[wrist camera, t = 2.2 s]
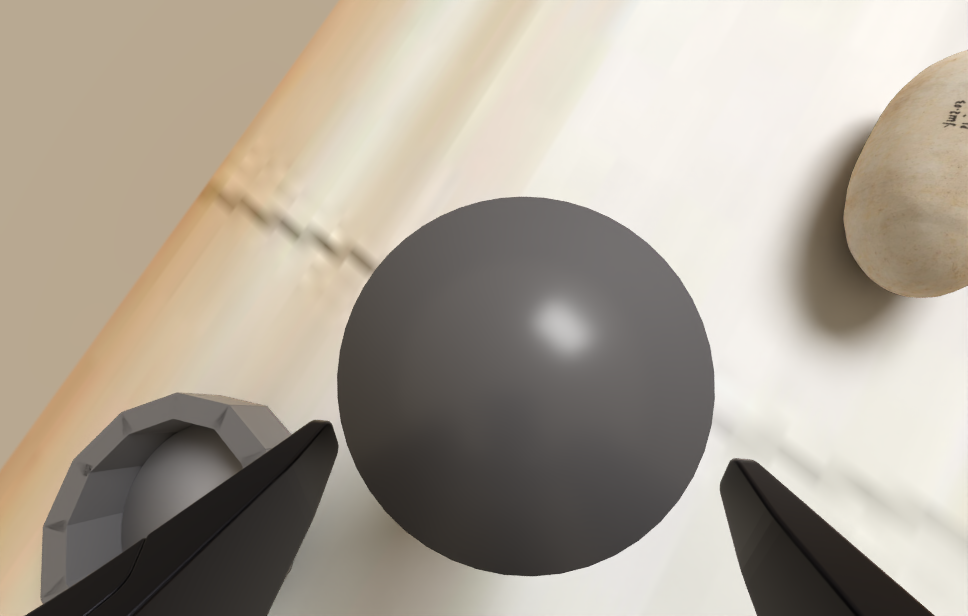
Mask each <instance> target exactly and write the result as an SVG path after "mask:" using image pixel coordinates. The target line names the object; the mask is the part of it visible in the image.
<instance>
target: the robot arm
mask: <svg viewBox="0 0 968 616" xmlns="http://www.w3.org/2000/svg"><path fill="white" fill-rule="evenodd" d="M337 453H338V441H337V438H336V435H335V432H334V429H333V426H332V423H331V422H329V421H324V420H313V421H311V422H309V423H308V424H306V425H305V426H303V427H302V428H300V429H299V430H298V431H296V432H295V433H293V434H292V435H290V436H289V437H288V438H286V439H285V440H283V441H282V442H280V443H279V444H277V445H276V446H275V447H273V448H272V449H270V450H269V451H267V452H266V453H265V454H263V455H262V456H260V457H259V458H257V459H256V460H254V461H253V462H252V463H250V464H249V465H247V466H246V467H244V468H243V469H242V470H240V471H239V472H237V473H236V474H234V475H233V476H231V477H230V478H229V479H227V480H226V481H224V482H223V483H221V484H220V485H219V486H217V487H216V488H214V489H213V490H211V491H210V492H208V493H207V494H206V495H204V496H203V497H201V498H200V499H198V500H197V501H196V502H194V503H193V504H191V505H190V506H188V507H187V508H186V509H184V510H183V511H181V512H180V513H178V514H177V515H175V516H174V517H173V518H171V519H170V520H168V521H167V522H165V523H164V524H163V525H161V526H160V527H158V528H157V529H155V530H154V531H152V532H151V533H150V534H148V535H147V537H146V538H142V539H141V540H139V541H138V542H136V543H135V544H134V545H132V546H131V547H129V548H128V549H126V550H125V551H124V552H122V553H121V554H119V555H118V556H116V557H115V558H113V559H112V560H110V561H109V562H107V563H106V564H104V565H103V566H101V567H100V568H98V569H97V570H95V571H94V572H93V573H91V574H90V575H88V576H87V577H85V578H84V579H82V580H80V581H79V582H77V583H76V584H74V585H73V586H71V587H69V588H68V589H66V590H65V591H63V592H62V593H60V594H59V595H57V596H55V597H54V598H52V599H51V600H49V601H48V602H46V603H44V604H43V605H41V606H40V607H38V608H36V609H35V610H33V611H32V612H30V613H28V614H27V615H25V616H267V614H268V612H269V610H270V608H271V606H272V604H273V602H274V600H275V598H276V596H277V593H278V591H279V589H280V587H281V585H282V583H283V581H284V579H285V577H286V575H287V573H288V571H289V568H290V566H291V564H292V562H293V560H294V558H295V556H296V554H297V552H298V550H299V548H300V546H301V543H302V541H303V539H304V537H305V535H306V533H307V531H308V529H309V527H310V525H311V522H312V520H313V518H314V516H315V513H316V511H317V508H318V505H319V503H320V500H321V497H322V495H323V492H324V489H325V486H326V484H327V481H328V478H329V475H330V473H331V470H332V467H333V464H334V462H335V459H336V456H337ZM720 494H721V498H722V501H723V505H724V509H725V513H726V517H727V521H728V524H729V528H730V532H731V536H732V540H733V544H734V547H735V551H736V555H737V559H738V562H739V566H740V569H741V572H742V575H743V578H744V581H745V584H746V587H747V589H748V592H749V595H750V598H751V600H752V603H753V606H754V608H755V611H756V614H757V616H935V615H933V614H932V613H931V612H930V611H929V610H928V609H926V608H925V607H924V606H923V605H922V604H921V603H920V602H918V601H917V600H916V599H915V598H914V597H913V596H911V595H910V594H909V593H908V592H907V591H906V590H905V589H903V588H902V587H901V586H900V585H899V584H898V583H896V582H895V581H894V580H893V579H892V578H891V577H889V576H888V575H887V574H886V573H885V572H884V571H883V570H881V569H880V568H879V567H878V566H877V565H876V564H874V563H873V562H872V561H871V560H870V559H869V558H868V557H866V556H865V555H864V554H863V553H862V552H861V551H859V550H858V549H857V548H856V547H855V546H854V545H852V544H851V543H850V542H849V541H848V540H847V539H846V538H844V537H843V536H842V535H841V534H840V533H839V532H837V531H836V530H835V529H834V528H833V527H832V526H831V525H829V524H828V523H827V522H826V521H825V520H824V519H822V518H821V517H820V516H819V515H818V514H817V513H815V512H814V511H813V510H812V509H811V508H810V507H809V506H807V505H806V504H805V503H804V502H803V501H802V500H800V499H799V498H798V497H797V496H796V495H795V494H794V493H792V492H791V491H790V490H789V489H788V488H787V487H785V486H784V485H783V484H782V483H781V482H780V481H778V480H777V479H776V478H775V477H774V476H773V475H772V474H770V473H769V472H768V471H767V470H766V469H765V468H763V467H762V466H761V465H760V464H759V463H757V462H756V461H754V460H750V459H739V458H734V459H732V460H730V462H729V464H728V466H727V469H726V471H725V473H724V475H723V477H722V480H721V482H720Z"/></svg>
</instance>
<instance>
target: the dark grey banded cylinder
mask: <svg viewBox="0 0 968 616" xmlns="http://www.w3.org/2000/svg"><path fill="white" fill-rule="evenodd" d="M337 385H338V404H339V411H340V419H341V424H342V428H343V431H344V435H345V439H346V442H347V446H348V448H349V451H350V453H351V456H352V458H353V460H354V463H355V465H356V468H357V470H358V471H359V473H360V475H361V477H362V478H363V480H364V482H365V484H366V485H367V487H368V489H369V490H370V492H371V493H372V494H373V496H374V497H375V498H376V500H377V501H378V502H379V504H380V505H381V506H382V507H383V509H384V510H385V511H386V512H387V513H388V514H389V515H390V516H391V517H392V518H393V519H394V520H395V521H396V522H397V523H398V524H399V525H400V526H401V527H402V528H403V529H404V530H405V531H406V532H408V533H409V534H410V535H412V536H413V537H414V538H416V539H417V540H419V541H420V542H421V543H423V544H424V545H425V546H427V547H429V548H430V549H432V550H434V551H436V552H438V553H440V554H441V555H443V556H445V557H447V558H449V559H451V560H453V561H456V562H459V563H462V564H464V565H467V566H470V567H473V568H475V569H479V570H484V571H489V572H493V573H498V574H503V575H518V576H541V575H551V574H561V573H565V572H569V571H573V570H577V569H581V568H585V567H589V566H591V565H593V564H596V563H598V562H600V561H603V560H605V559H607V558H610V557H612V556H614V555H616V554H618V553H619V552H621V551H623V550H624V549H626V548H627V547H629V546H631V545H632V544H634V543H635V542H637V541H639V540H640V539H641V538H642V537H643V536H645V535H646V534H647V533H648V532H649V531H650V530H651V529H653V528H654V527H655V526H656V525H657V524H658V523H660V522H661V521H662V519H663V518H664V517H665V516H666V515H667V514H668V512H669V511H670V510H671V509H672V508H673V507H674V505H675V504H676V503H677V502H678V501H679V499H680V498H681V496H682V494H683V493H684V491H685V489H686V488H687V486H688V485H689V483H690V481H691V480H692V478H693V477H694V474H695V472H696V470H697V467H698V465H699V463H700V460H701V458H702V456H703V453H704V451H705V447H706V443H707V440H708V436H709V432H710V429H711V424H712V416H713V408H714V399H715V394H714V369H713V362H712V356H711V350H710V345H709V342H708V338H707V335H706V332H705V328H704V325H703V322H702V320H701V317H700V315H699V313H698V311H697V308H696V306H695V304H694V302H693V300H692V298H691V296H690V295H689V293H688V291H687V290H686V288H685V286H684V285H683V283H682V282H681V280H680V278H679V277H678V276H677V275H676V273H675V272H674V271H673V270H672V268H671V267H670V266H669V265H668V263H667V262H666V261H665V260H664V259H663V258H662V257H661V256H660V255H659V254H658V253H657V252H656V251H655V250H654V249H653V248H652V247H651V246H650V245H649V244H648V243H647V242H645V241H644V240H643V239H641V238H640V237H639V236H637V235H636V234H635V233H634V232H632V231H631V230H630V229H628V228H626V227H625V226H623V225H621V224H620V223H618V222H616V221H614V220H613V219H611V218H609V217H607V216H605V215H602V214H600V213H598V212H596V211H593V210H591V209H589V208H586V207H582V206H579V205H575V204H572V203H569V202H565V201H559V200H553V199H548V198H536V197H511V198H499V199H493V200H487V201H482V202H478V203H475V204H471V205H468V206H464V207H461V208H458V209H456V210H454V211H451V212H449V213H447V214H444V215H442V216H440V217H438V218H436V219H435V220H433V221H431V222H429V223H427V224H426V225H424V226H422V227H421V228H420V229H418V230H417V231H415V232H414V233H413V234H411V235H410V236H409V237H407V238H406V239H405V240H403V241H402V242H401V243H400V244H399V245H398V246H397V247H396V248H395V249H394V250H393V251H392V252H390V253H389V255H388V256H387V257H386V258H385V259H384V260H383V262H382V263H381V264H380V265H379V266H378V267H377V269H376V270H375V271H374V273H373V274H372V276H371V277H370V279H369V280H368V282H367V283H366V285H365V286H364V288H363V289H362V291H361V293H360V295H359V297H358V299H357V301H356V303H355V305H354V307H353V309H352V312H351V315H350V317H349V320H348V323H347V325H346V328H345V332H344V336H343V340H342V345H341V349H340V355H339V364H338V373H337Z"/></svg>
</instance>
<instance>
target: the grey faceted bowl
mask: <svg viewBox="0 0 968 616" xmlns="http://www.w3.org/2000/svg"><path fill="white" fill-rule="evenodd" d="M290 435H291V434H290V432H289V431H288V430H287V429H286V428H285V427H284V425H283V424H282V423H281V422H280V421H279V420H278V418H277V417H276V416H275V415H274V414H273V413H272V412H271V410H270V409H269V408H268V407H267V406H264V405H259V404H255V403H251V402H247V401H242V400H238V399H234V398H230V397H225V396H221V395H207V394H192V393H175V394H172V395H169V396H166V397H163V398H160V399H158V400H155V401H152V402H149V403H146V404H143V405H141V406H138V407H135V408H132V409H129V410H126V411H124V412H121V413H120V414H119V415H118V416H117V417H116V418H115V419H114V420H113V421H112V422H111V423H110V424H109V425H108V426H107V427H106V428H105V429H104V430H103V431H102V432H101V433H100V434H99V435H98V436H97V437H96V438H95V439H94V440H93V441H92V442H91V443H90V444H89V445H88V446H87V447H86V448H85V449H84V450H83V451H82V452H81V453H80V454H79V455H78V456H77V457H76V458H75V459H74V460H73V461H72V464H71V466H70V468H69V470H68V472H67V475H66V477H65V479H64V481H63V484H62V486H61V488H60V490H59V492H58V495H57V497H56V499H55V501H54V503H53V506H52V508H51V510H50V512H49V515H48V517H47V519H46V521H45V523H44V527H43V542H42V572H41V598H42V599H41V601H42V603H43V604H44V603H46V602H48V601H49V600H51V599H52V598H54V597H55V596H57V595H59V594H60V593H62V592H63V591H65V590H66V589H68V588H69V587H71V586H73V585H74V584H76V583H77V582H79V581H80V580H82V579H84V578H85V577H87V576H88V575H90V574H91V573H93V572H94V571H95V570H97V569H98V568H100V567H101V566H103V565H104V564H106V563H107V562H109V561H110V560H112V559H113V558H115V557H116V556H118V555H119V554H121V553H122V552H124V551H125V550H126V549H128V548H129V547H131V546H132V545H134V544H135V543H136V542H138V541H139V540H141V539H142V538H146V537H147V535H148V534H150V533H151V532H152V531H154V530H155V529H157V528H158V527H160V526H161V525H163V524H164V523H165V522H167V521H168V520H170V519H171V518H173V517H174V516H175V515H177V514H178V513H180V512H181V511H183V510H184V509H186V508H187V507H188V506H190V505H191V504H193V503H194V502H196V501H197V500H198V499H200V498H201V497H203V496H204V495H206V494H207V493H208V492H210V491H211V490H213V489H214V488H216V487H217V486H219V485H220V484H221V483H223V482H224V481H226V480H227V479H229V478H230V477H231V476H233V475H234V474H236V473H237V472H239V471H240V470H242V469H243V468H244V467H246V466H247V465H249V464H250V463H252V462H253V461H254V460H256V459H257V458H259V457H260V456H262V455H263V454H265V453H266V452H267V451H269V450H270V449H272V448H273V447H275V446H276V445H277V444H279V443H280V442H282V441H283V440H285V439H286V438H288V437H289V436H290ZM292 564H293V562H292ZM292 564H291V566H290V568H289V571H290V570H291V567H292ZM289 571H288V573H289ZM288 573H287V574H288Z"/></svg>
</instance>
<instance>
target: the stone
mask: <svg viewBox="0 0 968 616" xmlns="http://www.w3.org/2000/svg"><path fill="white" fill-rule="evenodd" d="M843 220H844V227H845V233H846V239H847V243H848V247H849V250H850V252H851V254H852V255H853V257H854V259H855V260H856V262H857V263H858V265H859V266H860V268H861V269H862V270H863V271H864V272H865V274H866V275H867V276H868V277H869V278H870V279H871V280H873V281H874V282H875V283H876V284H878V285H879V286H881V287H882V288H884V289H886V290H888V291H890V292H892V293H895V294H898V295H902V296H906V297H916V298H926V297H937V296H942V295H945V294H948V293H951V292H954V291H957V290H959V289H961V288H964V287H966V286H968V50H966V51H963V52H960V53H957V54H954V55H952V56H949V57H947V58H945V59H943V60H941V61H939V62H937V63H935V64H933V65H931V66H929V67H928V68H926V69H925V70H923V71H922V72H920V73H919V74H918V75H917V76H916V77H915V78H913V79H912V80H911V81H910V82H909V83H908V84H906V85H905V86H904V87H903V88H902V89H901V90H900V91H899V92H898V93H897V95H896V96H895V97H894V98H893V99H892V100H891V101H890V103H889V104H888V106H887V107H886V109H885V110H884V111H883V113H882V114H881V116H880V118H879V120H878V121H877V123H876V125H875V127H874V128H873V130H872V132H871V134H870V136H869V138H868V139H867V141H866V143H865V145H864V147H863V150H862V152H861V154H860V156H859V158H858V160H857V162H856V164H855V167H854V169H853V172H852V175H851V178H850V181H849V185H848V189H847V195H846V202H845V209H844V217H843Z"/></svg>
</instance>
